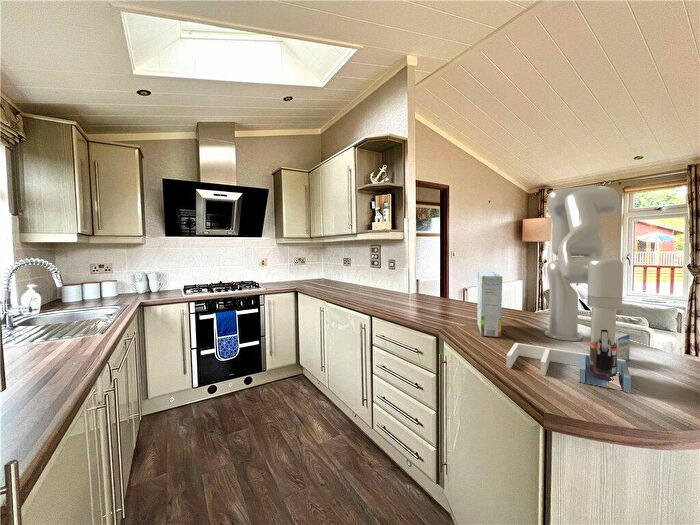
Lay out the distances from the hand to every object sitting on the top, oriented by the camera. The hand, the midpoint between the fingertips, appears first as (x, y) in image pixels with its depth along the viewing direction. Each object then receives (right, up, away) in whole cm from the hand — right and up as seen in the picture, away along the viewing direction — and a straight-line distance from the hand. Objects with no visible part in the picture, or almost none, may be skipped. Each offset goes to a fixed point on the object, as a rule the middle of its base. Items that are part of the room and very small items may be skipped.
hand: (603, 364), depth 86 cm
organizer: (-7, -4, +6) cm, 10 cm away
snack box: (-10, -2, +50) cm, 51 cm away
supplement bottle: (0, -3, 0) cm, 3 cm away
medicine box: (+14, -3, +12) cm, 19 cm away
